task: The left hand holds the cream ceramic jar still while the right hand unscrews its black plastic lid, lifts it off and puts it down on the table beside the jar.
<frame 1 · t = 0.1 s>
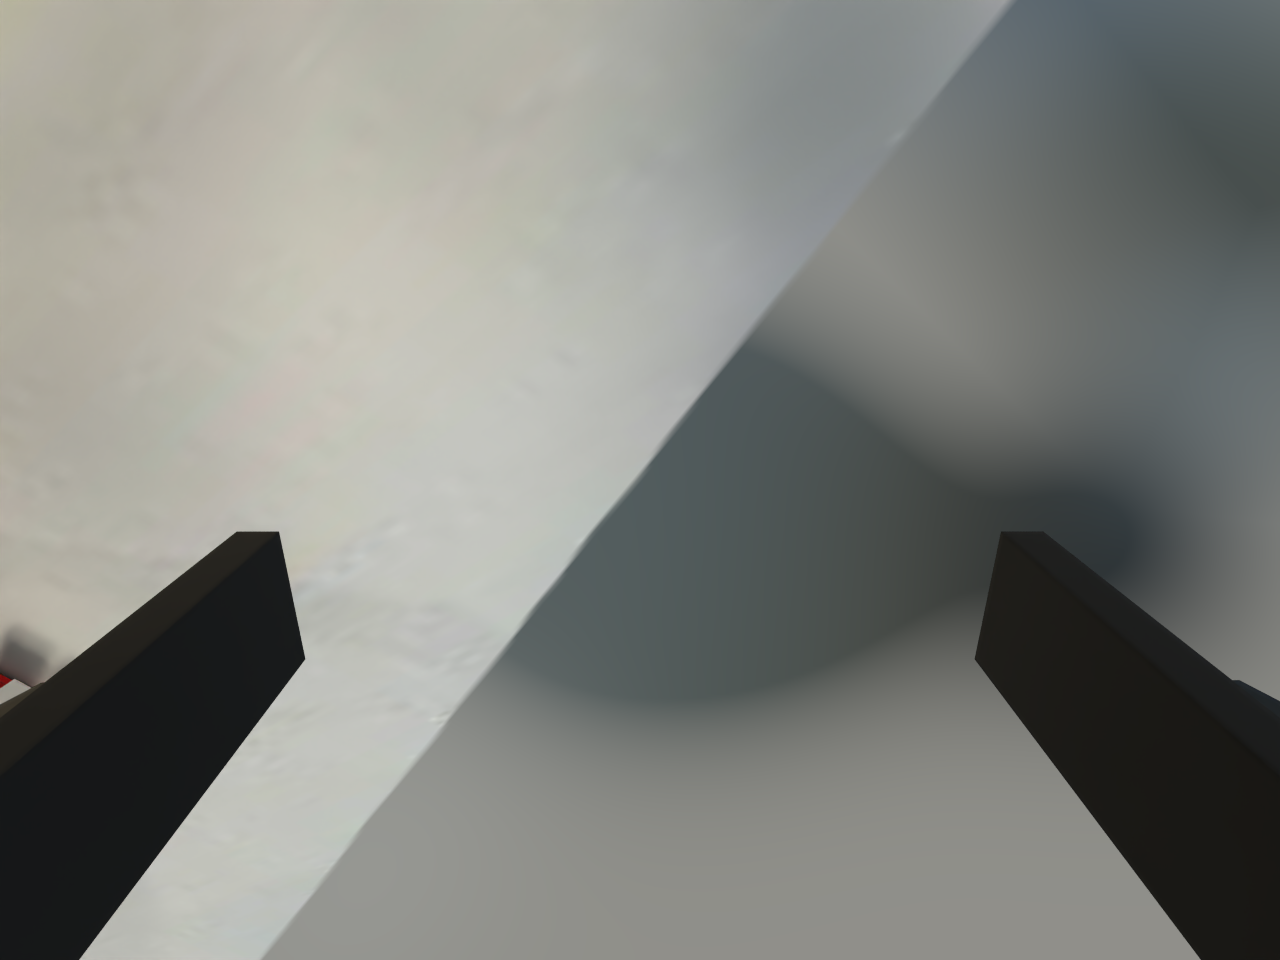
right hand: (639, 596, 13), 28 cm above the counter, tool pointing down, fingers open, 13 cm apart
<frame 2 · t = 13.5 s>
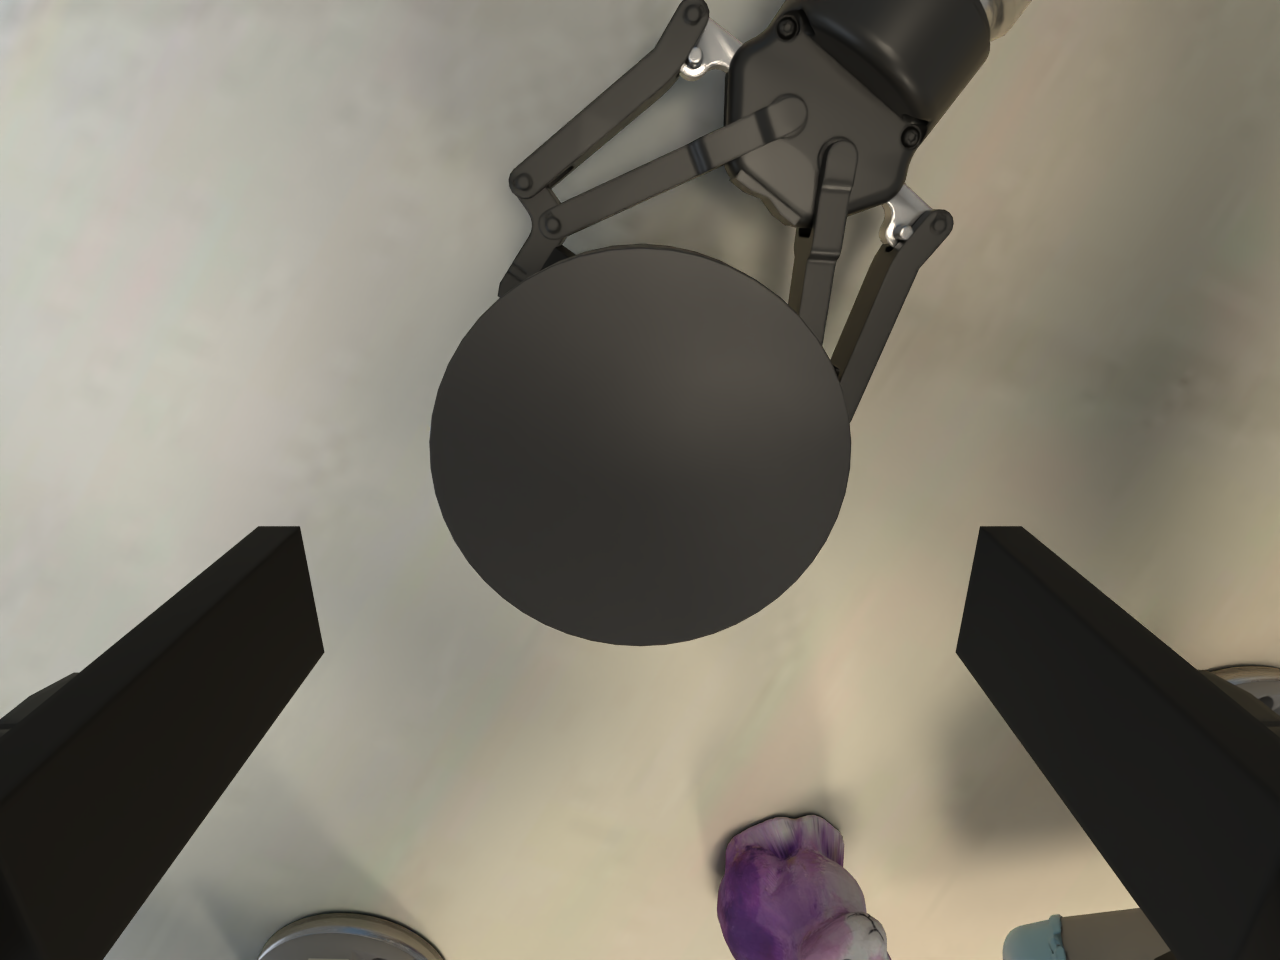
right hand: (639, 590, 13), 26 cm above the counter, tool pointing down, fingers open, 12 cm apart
left hand: (588, 442, 33), fingers closed on jar, 10 cm apart
figurine: (779, 849, 50), on the counter
lid: (640, 464, 20), point 19 cm above the counter, screwed on, not yet turned
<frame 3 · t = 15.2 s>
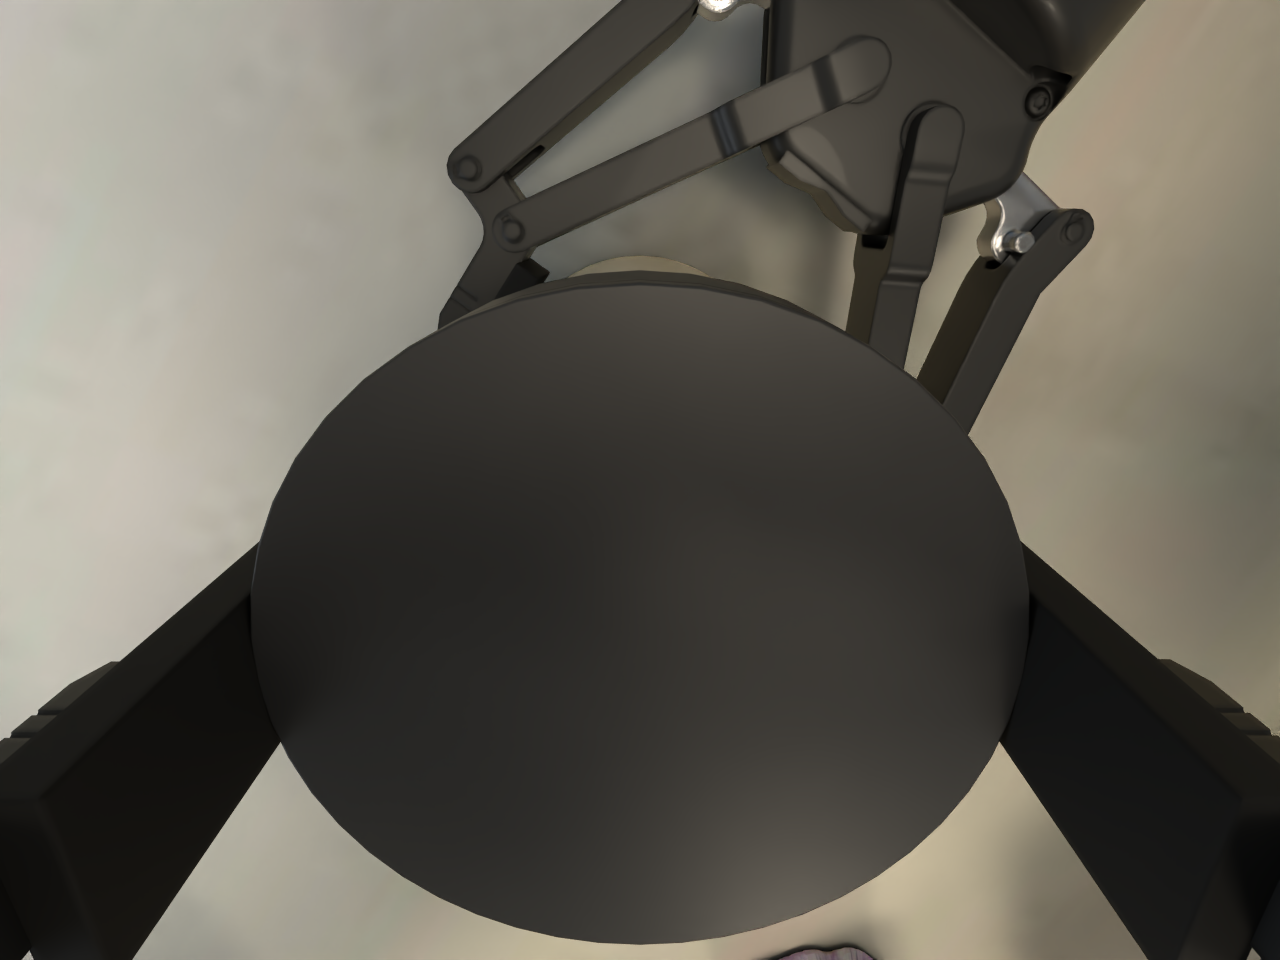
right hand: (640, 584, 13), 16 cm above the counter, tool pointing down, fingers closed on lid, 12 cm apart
left hand: (569, 526, 24), fingers closed on jar, 10 cm apart
jar: (639, 388, 28), on the counter, touching left hand
lid: (640, 665, 11), point 19 cm above the counter, screwed on, not yet turned, touching right hand
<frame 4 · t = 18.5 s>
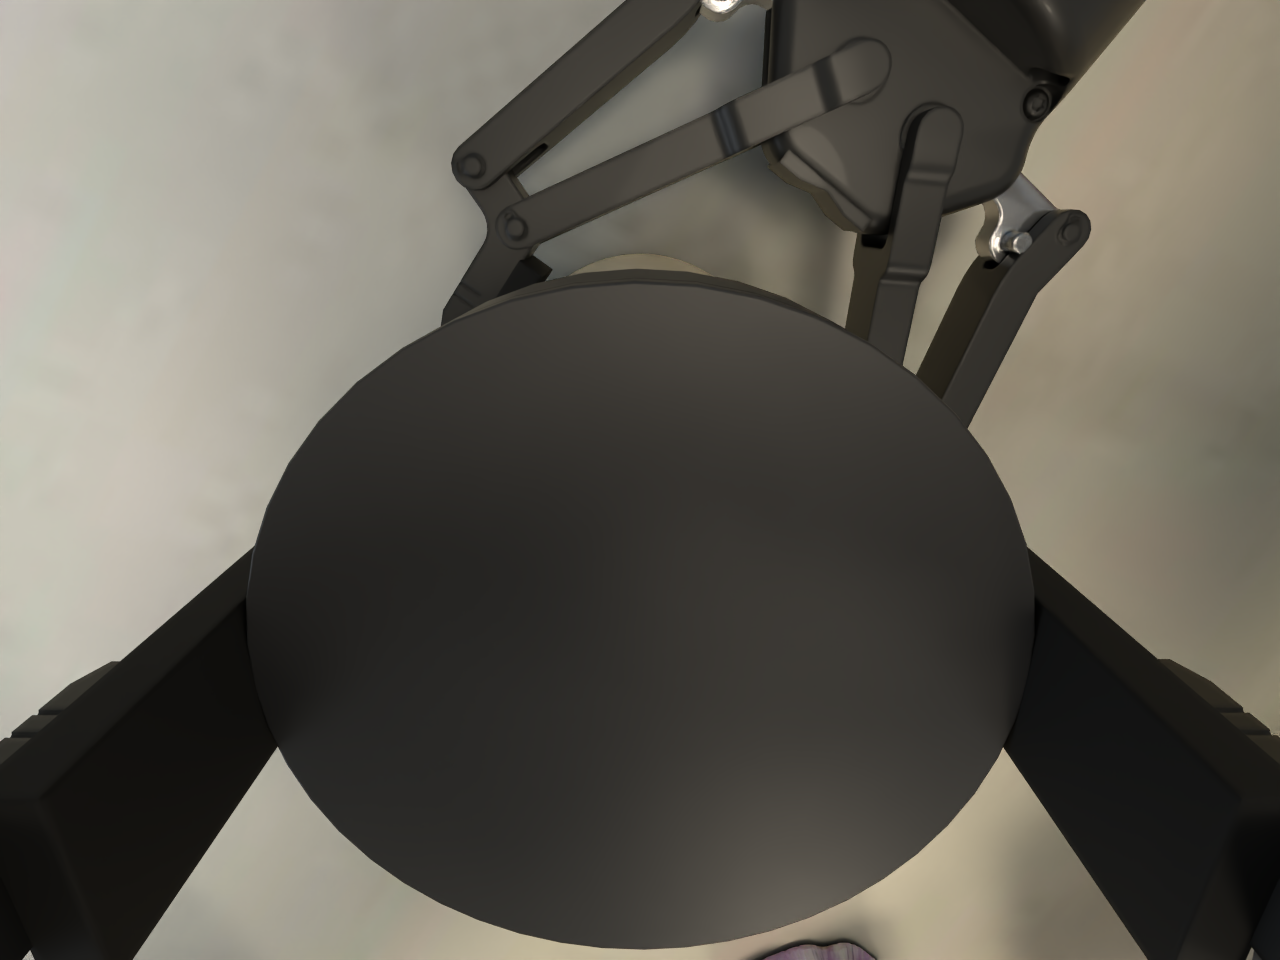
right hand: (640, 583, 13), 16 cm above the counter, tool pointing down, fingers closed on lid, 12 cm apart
left hand: (570, 521, 24), fingers closed on jar, 10 cm apart
jar: (640, 385, 29), on the counter, touching left hand
lid: (640, 669, 11), point 19 cm above the counter, turned 106° so far, risen 0.4 cm, still on its thread, touching right hand
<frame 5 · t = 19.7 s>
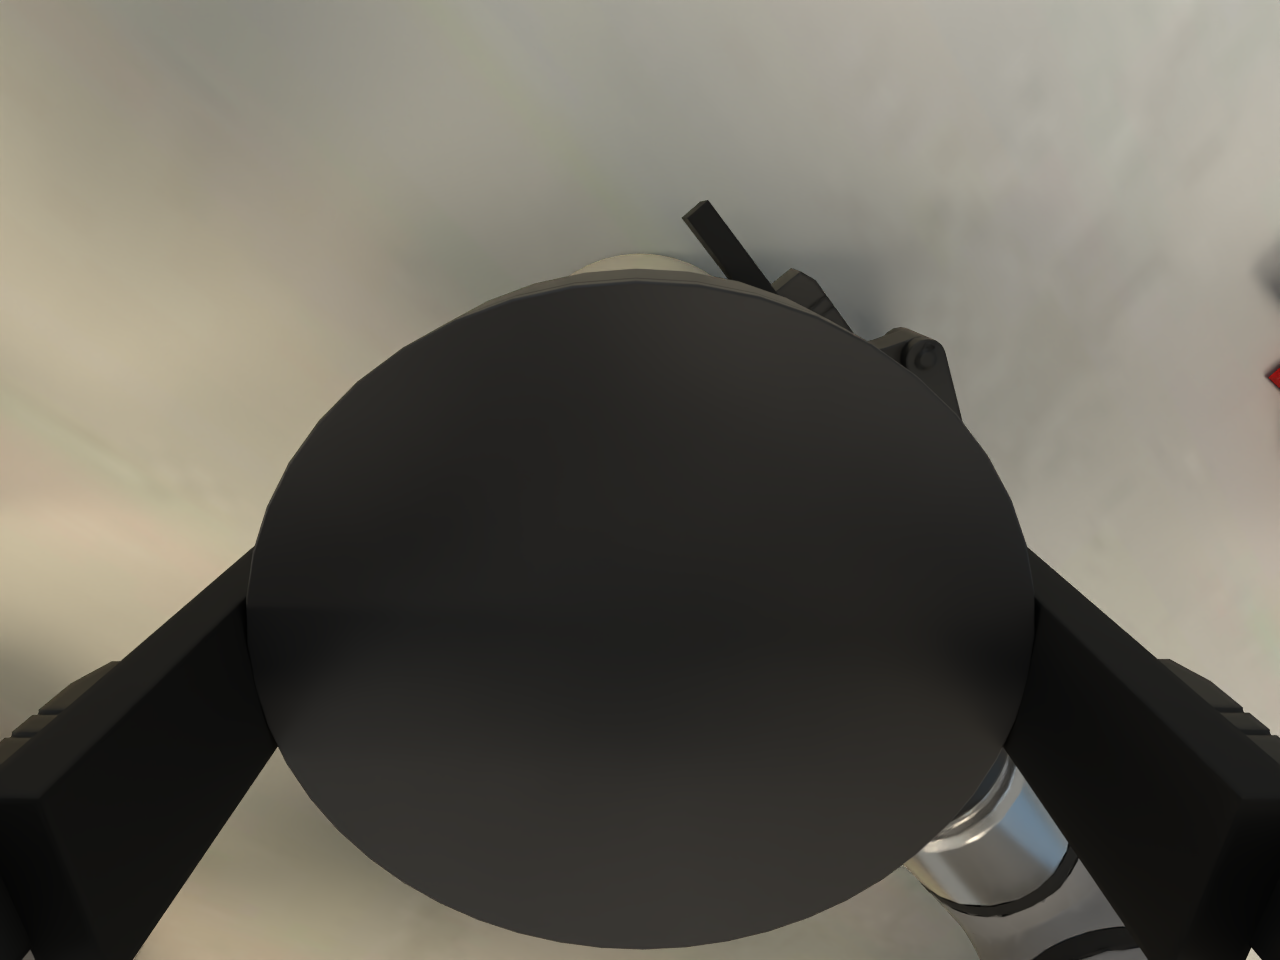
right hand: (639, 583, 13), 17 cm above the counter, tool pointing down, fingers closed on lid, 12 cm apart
jar: (640, 383, 29), on the counter, touching left hand
lid: (640, 668, 11), point 19 cm above the counter, off its thread, touching right hand
when the right hand's fingers open (0 cm above the counter, at t = 26.2 s): lid drops 1 cm, point 2 cm above the counter.
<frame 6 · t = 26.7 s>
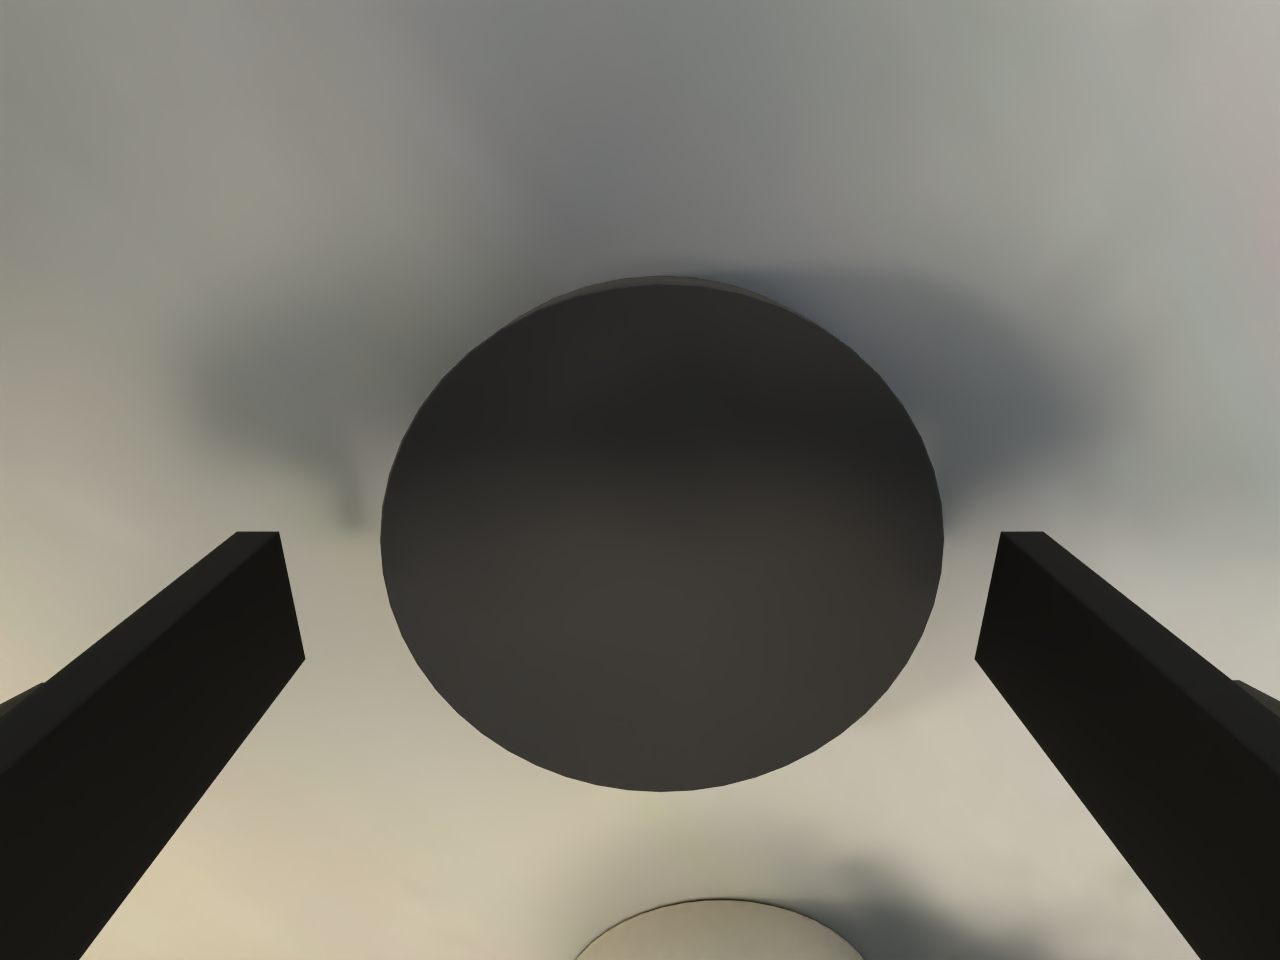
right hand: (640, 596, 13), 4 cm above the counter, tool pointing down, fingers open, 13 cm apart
lid: (659, 565, 15), point 2 cm above the counter, off its thread
when the left hand's fingers open (6 cm above the counter, at t = 27.2 s): jar stays where it is, on the counter.
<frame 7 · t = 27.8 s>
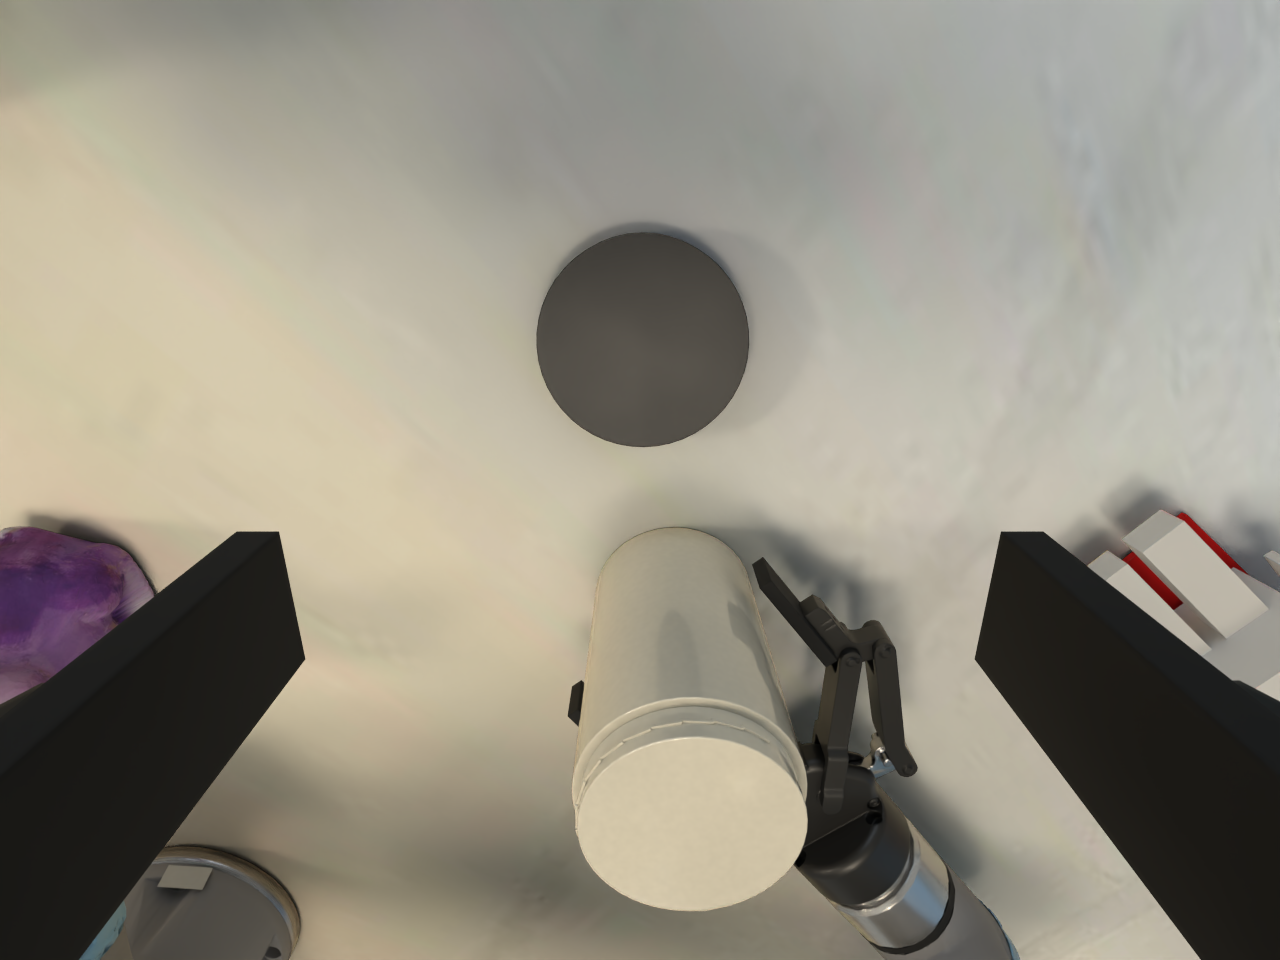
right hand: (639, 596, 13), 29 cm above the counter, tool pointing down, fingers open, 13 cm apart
left hand: (663, 636, 40), fingers open, 13 cm apart
figurine: (105, 590, 46), on the counter
jar: (673, 597, 46), on the counter
toy: (1207, 658, 48), on the counter
lid: (642, 345, 38), point 2 cm above the counter, off its thread
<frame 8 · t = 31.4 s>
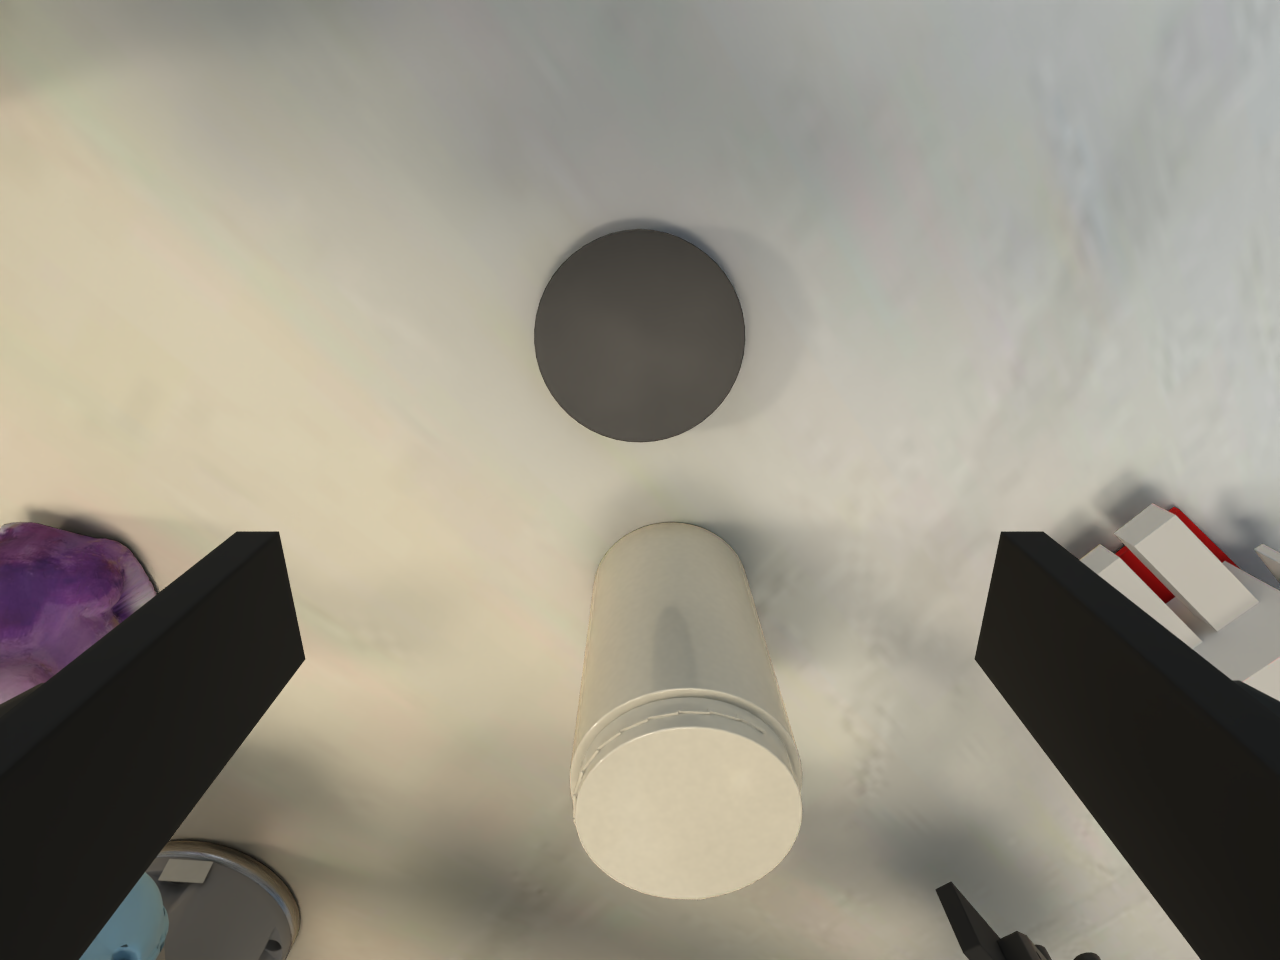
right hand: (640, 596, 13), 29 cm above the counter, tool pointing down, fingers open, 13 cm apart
figurine: (106, 585, 46), on the counter
jar: (670, 592, 47), on the counter
toy: (1199, 651, 48), on the counter
lid: (639, 340, 39), point 2 cm above the counter, off its thread
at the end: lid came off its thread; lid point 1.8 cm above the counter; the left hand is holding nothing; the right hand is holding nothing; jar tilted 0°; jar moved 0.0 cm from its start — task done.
